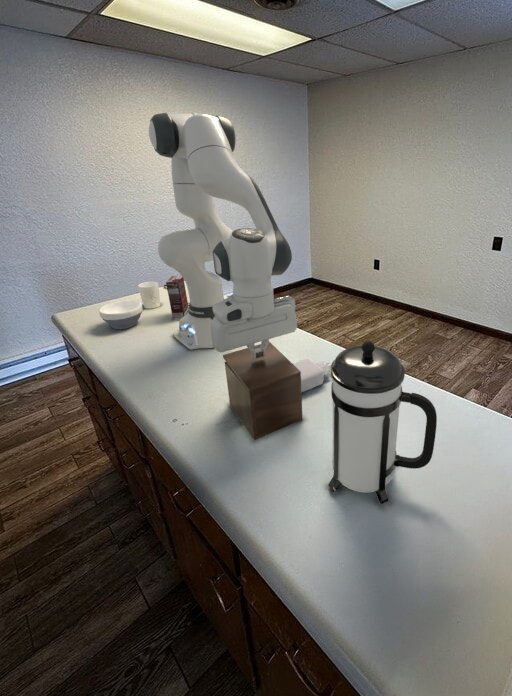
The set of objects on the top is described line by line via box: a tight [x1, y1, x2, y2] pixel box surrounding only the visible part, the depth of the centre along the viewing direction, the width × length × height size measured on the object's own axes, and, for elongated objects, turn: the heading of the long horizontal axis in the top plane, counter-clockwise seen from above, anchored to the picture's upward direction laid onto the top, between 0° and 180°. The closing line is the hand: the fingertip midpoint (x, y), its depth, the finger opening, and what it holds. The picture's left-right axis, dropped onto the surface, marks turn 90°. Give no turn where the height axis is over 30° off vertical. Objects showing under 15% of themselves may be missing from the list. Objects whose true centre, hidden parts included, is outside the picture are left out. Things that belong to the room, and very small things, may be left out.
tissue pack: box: [292, 358, 331, 393], centre depth 103 cm, size 5×9×15 cm
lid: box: [222, 341, 301, 393], centre depth 86 cm, size 16×13×1 cm
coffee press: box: [324, 340, 438, 505], centre depth 66 cm, size 17×16×30 cm
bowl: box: [98, 299, 144, 330], centre depth 138 cm, size 14×14×8 cm
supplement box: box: [165, 275, 189, 321], centre depth 145 cm, size 9×5×16 cm, turn 6°
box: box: [224, 361, 303, 441], centre depth 88 cm, size 16×13×13 cm
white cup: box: [137, 281, 162, 310], centre depth 156 cm, size 8×8×10 cm
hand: (258, 356), depth 86 cm, fingers closed
